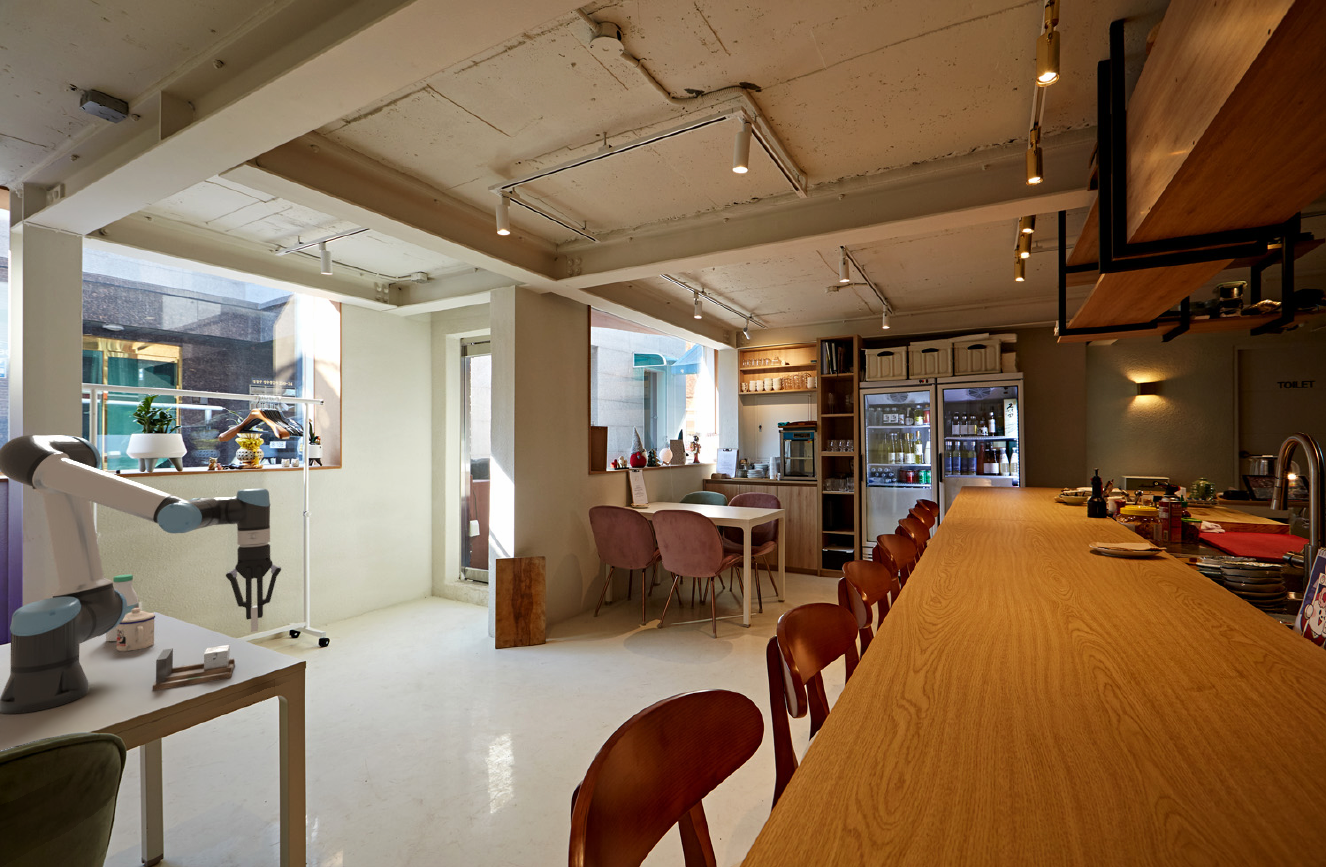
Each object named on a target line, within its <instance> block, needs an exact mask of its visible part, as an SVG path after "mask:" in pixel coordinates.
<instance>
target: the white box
mask: <svg viewBox="0 0 1326 867" xmlns="http://www.w3.org/2000/svg"><path fill="white" fill-rule="evenodd" d="M230 648H231V647H230V644H227V645H226V644H225V645H218V646H214V647H207V648H206V649H205V651H204V653H203V655H204V656H203V663H204V671H207V670H213V669H219V668H226V667H228V666H229V659H230Z"/></svg>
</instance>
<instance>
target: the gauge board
mask: <svg viewBox="0 0 1326 867" xmlns="http://www.w3.org/2000/svg"><path fill="white" fill-rule="evenodd" d="M173 653H174V648H165V649H162V651H161V652H160V653H159V655H158V657H156V661H155V664H156V666H155V681H154V683H153V685H152V687H151V688H152V691H157V690H158V691H159V690H163V689H169V688H175V687H182V686H188V685H196V684H200V683H208V682H212V681H219V680H225V679H231V678H232V675H233V671H234V668H235V665H236V663H235V662H236V661H235V658H229V666H228V667H226V668H219V669H213V670H207V671H204V662H202V663H201V662H200V663H195V664H188V665H184V666H183V665H182V666H175V667H174V666H173V663H174V662H173V660H174V654H173Z"/></svg>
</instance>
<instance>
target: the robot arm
mask: <svg viewBox="0 0 1326 867" xmlns="http://www.w3.org/2000/svg"><path fill="white" fill-rule="evenodd" d="M101 461H102V460H101V454H100V451H99V450H98V448H97V447H96V445H95V444H93V443H92V442H90V441H89V440H87V439H86V438H83V437H78V436H72V435H67V434H65V435H38V434H34V435H33V434H28V435H21V436H18V437H15V438H12V439H11V440H9V441H7V442H6V443H4V444H3V445H2V446H1V448H0V472H1V473H2V474H3V475H4V476H6V478H8V479H11V480H12V481H14V482H18V483H20V484H24V485H26V486H30V487H32V491H33V492H34V493H37V494H39V495H40V496H41V497H42V500H43V506H44V512H45V517H46V521H47V528H48V533H49V538H50V543H51V551H52V555H53V561H54V565H55V572H56V576H57V577H56V578H57V582H58V583H57V584H58V586H57V587H58V588H57V589H56V590H55V591H54V592H53V593H52V594H51V595H52V597H51V598H46V599H45V598H44V599H43V600H37V601H33V602H29V603H28V604H25V605H22V606H21V607H19V608H17V609H16V610H15V611H14V612H13V613H12V616H11V624H10V626H9V631H10V671H9V672H10V674H9V677H8V679H7V682H6V684H5V686H4V688H3V690H2V693H1V695H0V713H2V714H11V715H12V714H14V715H15V714H24V713H32V712H37V711H42V710H47V709H51V708H55V707H59V706H62V705H65V704H69V703H71V702H74V701H76V700H79V699H81V698H83V697H84V696H86V695H87V694H88V693H89V689H90V688H89V685H90V684H89V680H88V678H87V676H86V674H85V671H84V669H83V666H82V665H81V663H80V644H82V643H85V642H87V641H89V640H92V639H94V638H96V637H97V638H98V637H101V636H103V635H106V633H107V632H109V631H110V630H112V629H113V628H115V627H116V626H117V625H119V624H120V622H121V621H122V620H123V619H124V617H125V615H126V612H127V601H126V598H125V597H124V595H123V594H122V593H119V592H118V591H117V590H115V589H114V584H113V583H114V581H113V580H111V579H109V578H107V577H105V576H104V571H103V565H102V560H101V554H100V549H99V548H100V547H99V544H98V538H97V533H96V532H97V531H96V528H95V527H96V525H95V522H94V521H95V520H94V515H93V510H92V505H91V503H94V504H98V505H101V506H104V507H107V508H109V509H113V510H116V511H119V512H122V513H125V514H128V515H131V516H134V517H137V518H140V519H143V520H145V521H149V522H153V523H155V524H158V527H160V528H161V530H163V531H164V532H165V533H169V534H185V533H188V532H191V531H195V530H198V529H203V528H207V527H212V526H219V525H237V526H236V528H237V529H236V530H237V532H236V533H237V534H236V535H237V539H236V540H237V545H238V547H237V548H236V549H237V563H236V565H235V567H234V569H232V570H230V571H227V572H226V574H225V577H226V578H227V579H228V581H229V582H230V585H231V588H232V591H233V594H234V597H235V601H236V605H237V607H241V608H245V619H246V620H250V632H251V633H253V632H258V631H259V619H262V618H263V616H264V605H266V604H269V603H270V602H271V599H272V596H273V592H274V588H275V584H276V581H277V577H278V576H279V574H280V572H281V571H282V566H277V565H275V564H273V561H272V559H271V545H270V544H269V543H270V542H271V522H270V521H271V520H270V519H271V502H270V501H271V499H270V491H269V490H268V489H266V488H246V489H245V488H244V489H239V490H237V493H236V496H227V497H226V496H224V497H223V496H222V497H221V496H220V497H219V496H218V497H216V496H215V497H209V496H208V497H207V496H206V497H205V496H204V497H196V498H194V497H193V498H190V499H189V500H188V499H185V498H183V497H180V496H175V495H173V494H171V493H168V492H165V491H162V490H158V489H157V488H154V487H151V486H147V485H145V484H142V483H140V482H136V481H133V480H130V479H128V478H124V477H121V476H119V475H116V474H112V473H110V472H107V471H104V470H100V469H99V467H100V466H101ZM269 570H270V573H271V577H270V581H269V585H268V589H267V592H266V596H265V598H264V581H263V580H264V578H263V577H265V576H266V574H267V573H268V571H269ZM238 573H239V575H240V576H241V577H242V578H244V579H245V601H244V598H243V595H242V591H241V588H240V584H239V582H238V579H237V577H238ZM252 579H256V603H257V604H255V605H253V602H252V601H253V600H252V599H253V598H252V597H253V595H252V594H253V590H252V588H253V587H252V586H253V582H252V581H253V580H252Z"/></svg>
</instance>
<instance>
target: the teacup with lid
mask: <svg viewBox="0 0 1326 867" xmlns="http://www.w3.org/2000/svg"><path fill="white" fill-rule="evenodd" d="M155 618H156V615H155V613H152V612H147V611H144V610H141V608H140V607H139V608H134V609H132V612H130V613H128V614H126V615H125V617H124V619H123V620H122V621H121V622H120V624H119V625H117V642H116V650H117V651H118V650H119V651H118V652H131V651H130V650H133V651H138V650H137V649H139V650H142V649H141V648H143V649H146V648H149V647H151V646H153V645H154V643H155Z"/></svg>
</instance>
